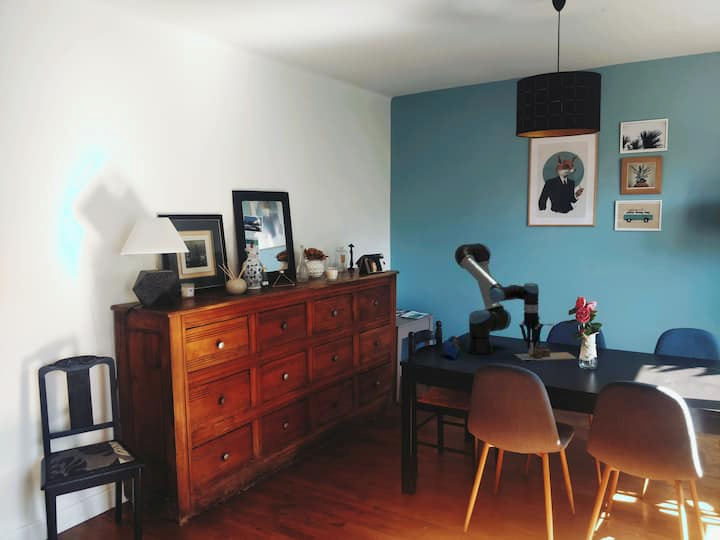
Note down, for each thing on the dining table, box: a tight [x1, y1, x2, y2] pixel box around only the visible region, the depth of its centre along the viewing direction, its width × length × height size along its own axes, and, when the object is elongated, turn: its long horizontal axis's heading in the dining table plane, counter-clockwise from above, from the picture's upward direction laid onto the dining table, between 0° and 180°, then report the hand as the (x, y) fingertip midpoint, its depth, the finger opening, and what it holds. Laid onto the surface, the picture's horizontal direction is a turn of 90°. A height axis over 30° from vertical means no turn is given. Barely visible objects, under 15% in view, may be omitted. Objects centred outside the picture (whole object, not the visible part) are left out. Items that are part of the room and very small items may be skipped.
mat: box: [514, 351, 577, 361], centre depth 311 cm, size 30×12×1 cm, turn 93°
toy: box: [442, 335, 460, 359], centre depth 316 cm, size 11×10×15 cm
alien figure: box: [521, 315, 555, 349], centre depth 331 cm, size 20×5×19 cm, turn 62°
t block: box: [528, 347, 551, 359], centre depth 310 cm, size 10×10×4 cm
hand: (531, 354), depth 310 cm, fingers closed
